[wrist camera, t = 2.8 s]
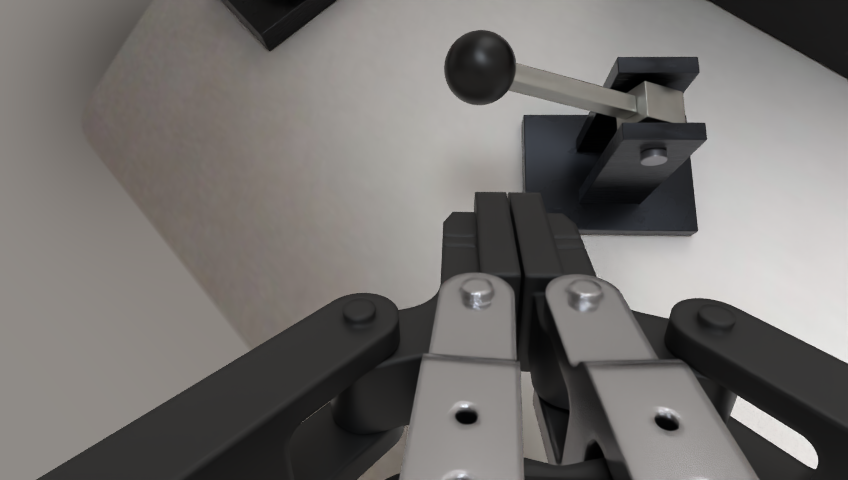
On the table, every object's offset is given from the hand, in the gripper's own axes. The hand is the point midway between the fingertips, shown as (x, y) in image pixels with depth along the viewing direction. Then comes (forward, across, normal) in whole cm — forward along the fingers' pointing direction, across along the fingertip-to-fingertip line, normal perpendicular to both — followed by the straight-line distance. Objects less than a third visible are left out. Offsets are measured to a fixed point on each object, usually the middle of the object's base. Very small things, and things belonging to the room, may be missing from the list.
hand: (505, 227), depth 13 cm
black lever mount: (+27, +10, -10) cm, 31 cm away
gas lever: (+20, +4, -3) cm, 20 cm away
